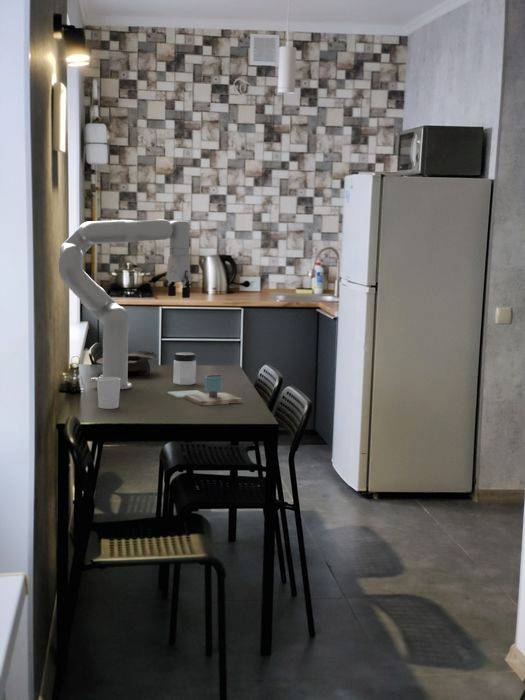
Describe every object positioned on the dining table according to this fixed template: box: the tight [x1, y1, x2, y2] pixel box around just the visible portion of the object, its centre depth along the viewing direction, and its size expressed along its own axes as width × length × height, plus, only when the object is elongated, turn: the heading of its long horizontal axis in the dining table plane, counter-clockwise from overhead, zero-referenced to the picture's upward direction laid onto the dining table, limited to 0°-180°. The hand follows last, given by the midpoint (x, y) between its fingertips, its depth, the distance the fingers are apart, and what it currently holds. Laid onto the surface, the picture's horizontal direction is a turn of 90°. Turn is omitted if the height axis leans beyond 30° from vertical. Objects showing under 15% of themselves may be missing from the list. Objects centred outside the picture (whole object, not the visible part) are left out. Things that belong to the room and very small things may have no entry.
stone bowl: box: [96, 350, 158, 376], centre depth 389 cm, size 25×25×9 cm
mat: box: [167, 389, 205, 399], centre depth 344 cm, size 12×10×1 cm
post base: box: [184, 391, 243, 407], centre depth 334 cm, size 16×14×8 cm
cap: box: [203, 373, 223, 392], centre depth 333 cm, size 6×6×6 cm
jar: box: [172, 351, 197, 386], centre depth 369 cm, size 9×8×12 cm
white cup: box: [96, 376, 121, 410], centre depth 316 cm, size 8×8×10 cm
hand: (178, 296), depth 359 cm, fingers open, 9 cm apart
